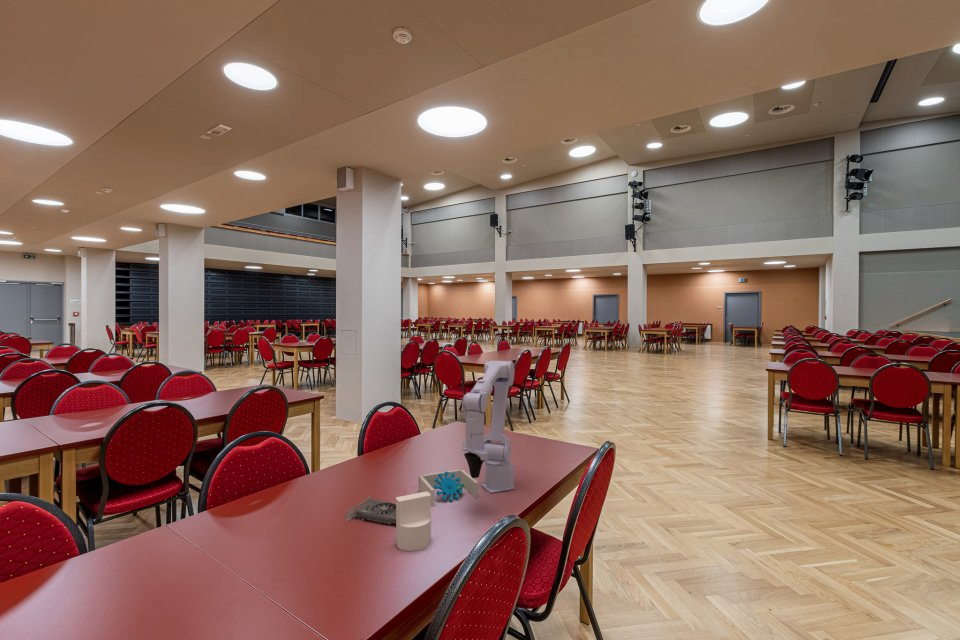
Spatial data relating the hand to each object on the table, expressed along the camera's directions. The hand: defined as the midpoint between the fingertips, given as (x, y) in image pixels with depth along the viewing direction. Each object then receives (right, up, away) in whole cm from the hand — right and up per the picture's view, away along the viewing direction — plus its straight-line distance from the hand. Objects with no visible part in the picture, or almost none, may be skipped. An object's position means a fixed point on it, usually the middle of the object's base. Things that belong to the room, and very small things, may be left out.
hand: (475, 477), depth 132 cm
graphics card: (-28, -11, -4) cm, 31 cm away
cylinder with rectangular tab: (-16, -11, -18) cm, 26 cm away
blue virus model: (-8, -11, +11) cm, 17 cm away
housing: (-9, -10, +12) cm, 18 cm away
